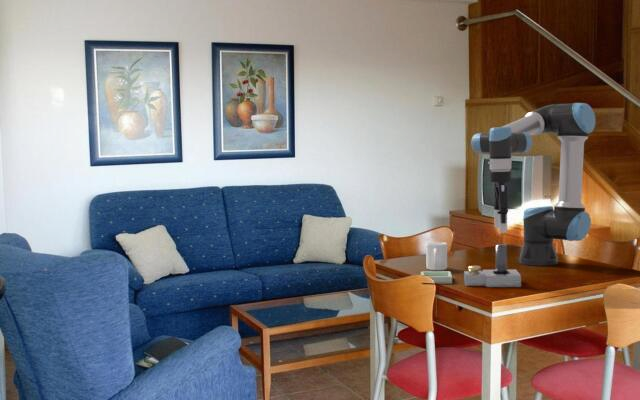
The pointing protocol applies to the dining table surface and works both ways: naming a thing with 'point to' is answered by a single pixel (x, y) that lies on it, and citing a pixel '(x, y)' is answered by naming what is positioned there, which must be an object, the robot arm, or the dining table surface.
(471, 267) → the brass knob
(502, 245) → the gray rectangular peg
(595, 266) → the dining table surface
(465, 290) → the dining table surface
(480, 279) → the socket block
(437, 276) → the tray
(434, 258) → the mug
